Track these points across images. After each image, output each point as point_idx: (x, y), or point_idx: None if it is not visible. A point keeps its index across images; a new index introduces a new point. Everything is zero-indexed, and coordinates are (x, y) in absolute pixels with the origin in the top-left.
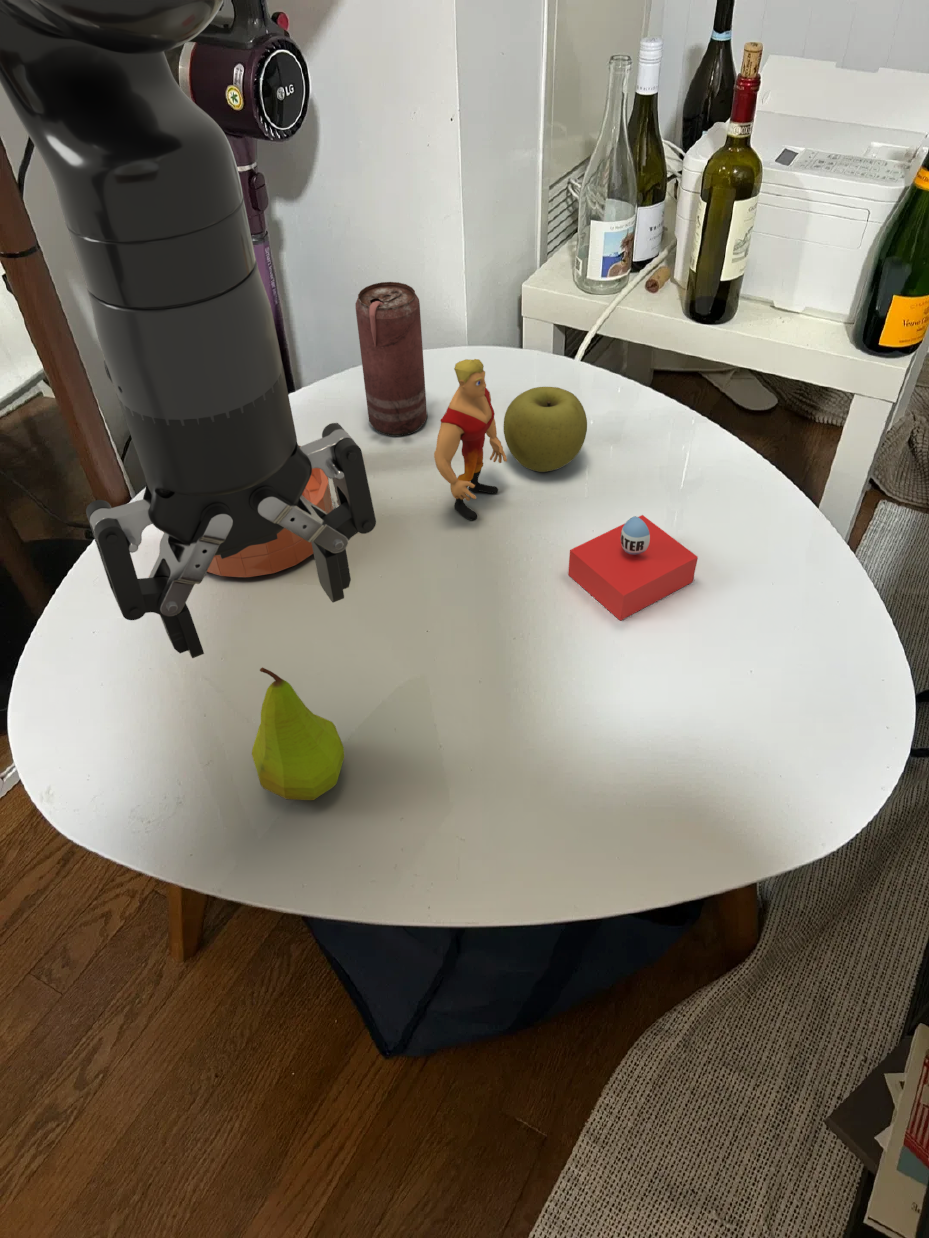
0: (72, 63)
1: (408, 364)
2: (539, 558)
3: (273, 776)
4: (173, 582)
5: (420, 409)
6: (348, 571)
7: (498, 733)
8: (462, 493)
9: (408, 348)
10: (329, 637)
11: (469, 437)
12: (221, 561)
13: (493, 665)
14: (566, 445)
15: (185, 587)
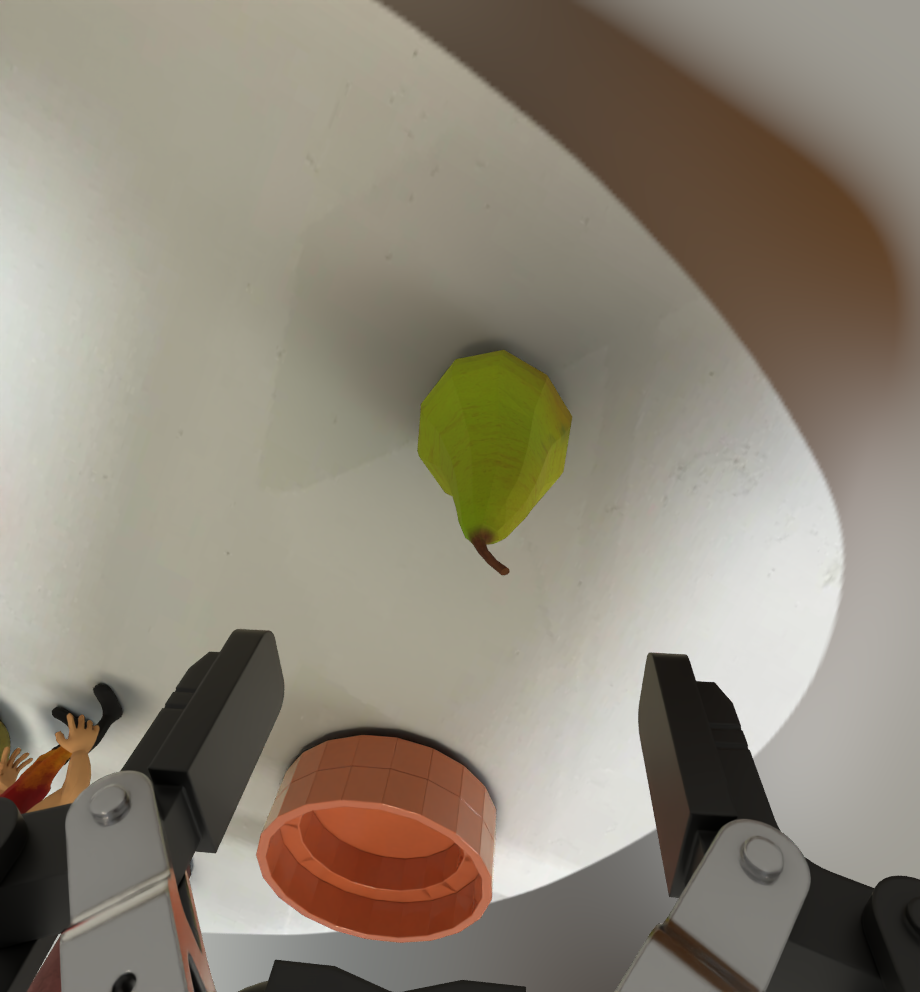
0: None
1: None
2: (27, 583)
3: (553, 407)
4: (758, 984)
5: None
6: (174, 694)
7: (183, 327)
8: (80, 730)
9: (53, 981)
10: (365, 612)
11: None
12: (455, 786)
13: (151, 449)
14: None
15: (705, 927)
